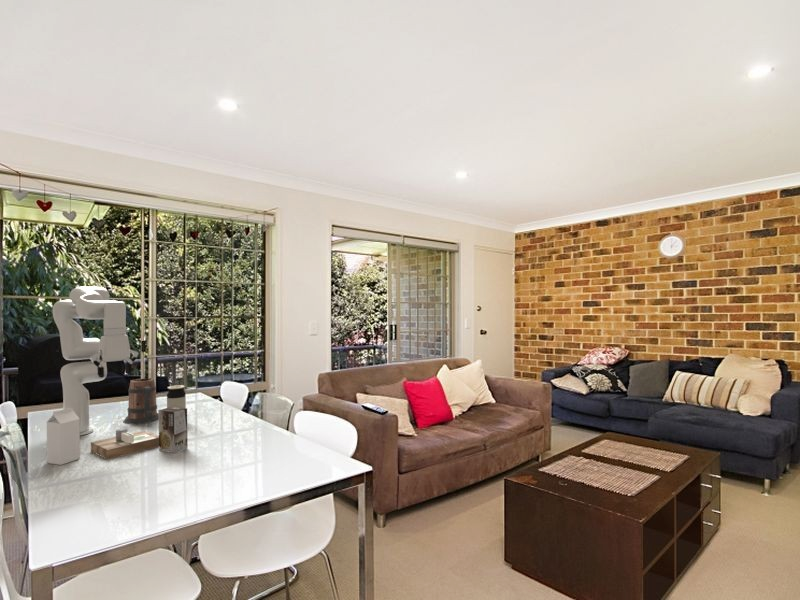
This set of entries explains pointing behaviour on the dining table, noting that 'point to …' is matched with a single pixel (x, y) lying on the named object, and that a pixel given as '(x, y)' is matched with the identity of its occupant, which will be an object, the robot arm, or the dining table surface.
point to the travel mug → (176, 396)
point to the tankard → (142, 402)
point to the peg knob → (124, 436)
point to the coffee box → (173, 429)
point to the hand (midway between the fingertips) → (114, 375)
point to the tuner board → (125, 445)
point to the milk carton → (63, 437)
